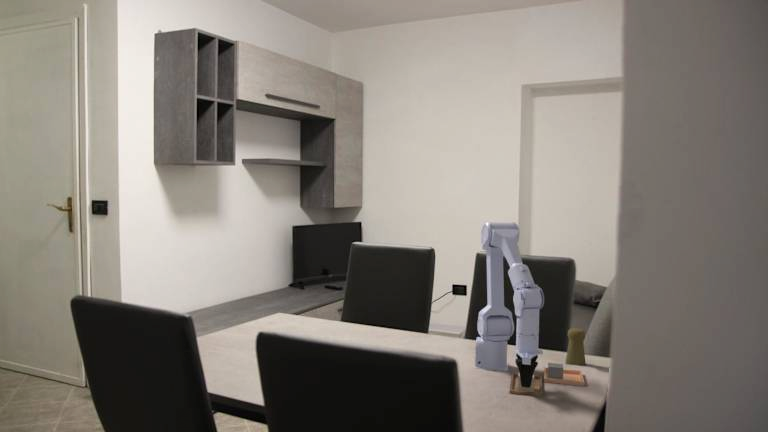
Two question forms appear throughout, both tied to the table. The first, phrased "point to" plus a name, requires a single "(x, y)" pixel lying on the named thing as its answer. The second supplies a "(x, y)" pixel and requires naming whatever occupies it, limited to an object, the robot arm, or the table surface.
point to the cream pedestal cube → (525, 387)
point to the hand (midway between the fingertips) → (526, 384)
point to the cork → (576, 347)
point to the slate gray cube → (555, 371)
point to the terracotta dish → (566, 377)
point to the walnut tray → (515, 391)
